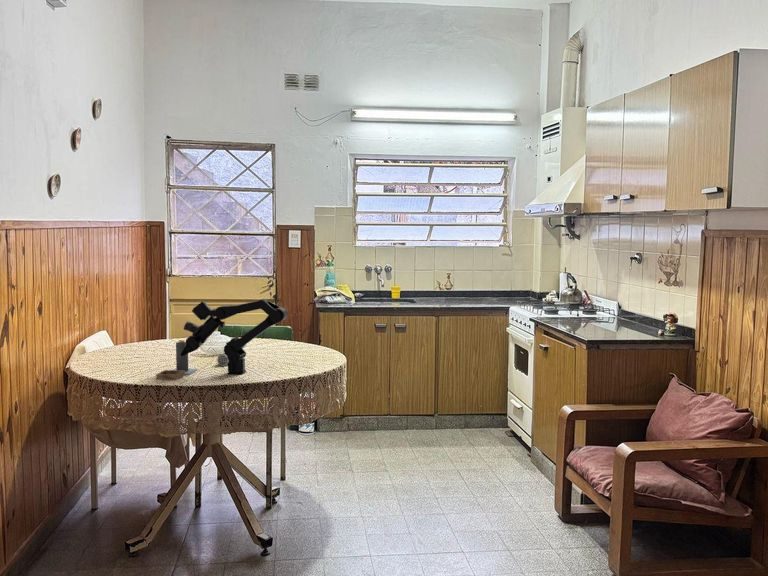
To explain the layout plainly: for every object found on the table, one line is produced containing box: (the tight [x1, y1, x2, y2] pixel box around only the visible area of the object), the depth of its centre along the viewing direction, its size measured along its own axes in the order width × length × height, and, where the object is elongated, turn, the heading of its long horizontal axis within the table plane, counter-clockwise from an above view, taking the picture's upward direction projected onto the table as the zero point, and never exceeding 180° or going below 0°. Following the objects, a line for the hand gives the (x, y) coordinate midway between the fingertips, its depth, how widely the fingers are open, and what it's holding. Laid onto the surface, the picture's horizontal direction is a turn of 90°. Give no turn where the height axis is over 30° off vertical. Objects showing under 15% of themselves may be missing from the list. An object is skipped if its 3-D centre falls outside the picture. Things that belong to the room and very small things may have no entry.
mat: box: [173, 368, 198, 376], centre depth 310 cm, size 10×10×1 cm
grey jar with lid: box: [175, 339, 189, 372], centre depth 309 cm, size 5×5×14 cm
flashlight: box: [216, 352, 229, 367], centre depth 332 cm, size 15×5×5 cm, turn 170°
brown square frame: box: [155, 369, 186, 381], centre depth 300 cm, size 9×9×2 cm
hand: (183, 353), depth 309 cm, fingers open, 9 cm apart
